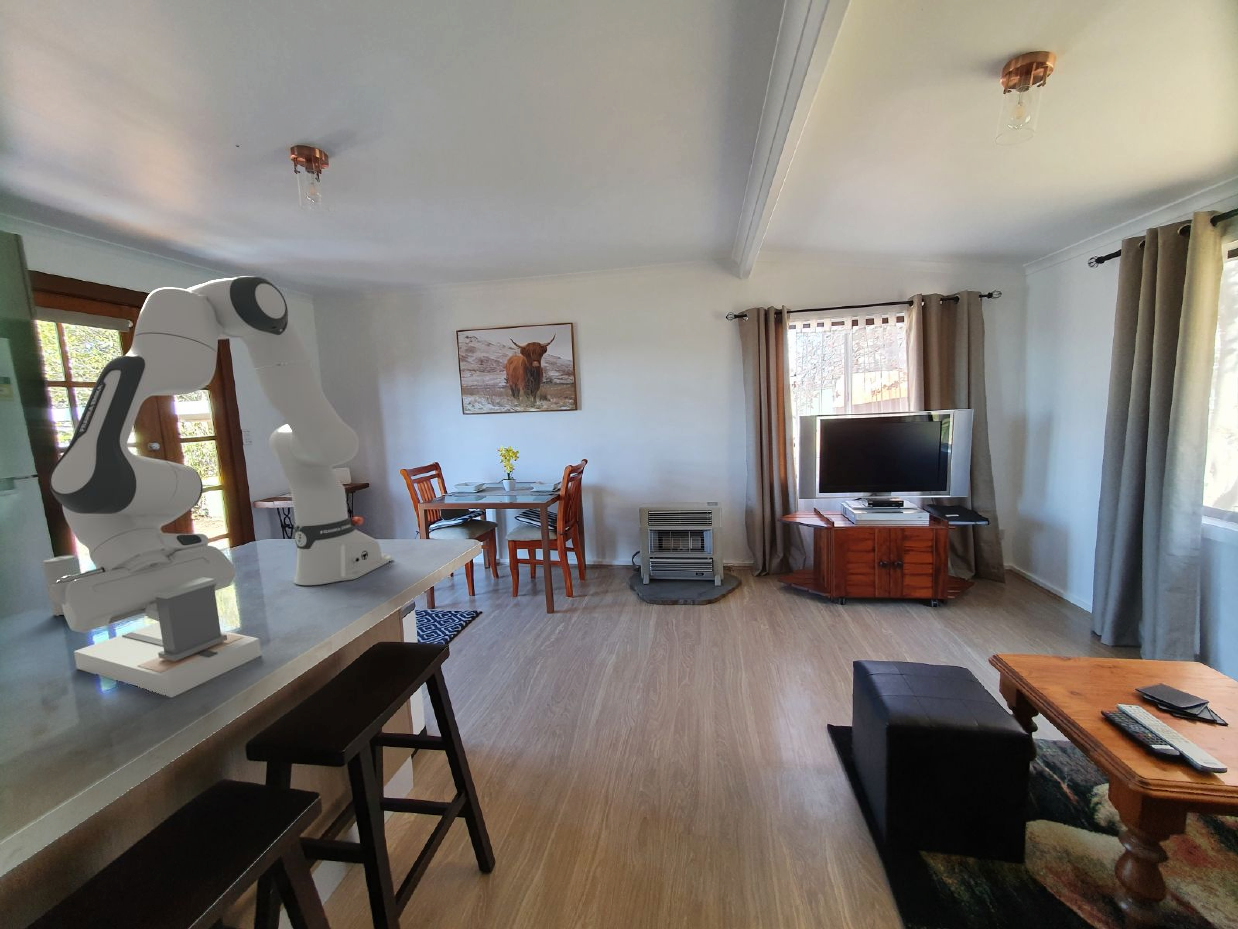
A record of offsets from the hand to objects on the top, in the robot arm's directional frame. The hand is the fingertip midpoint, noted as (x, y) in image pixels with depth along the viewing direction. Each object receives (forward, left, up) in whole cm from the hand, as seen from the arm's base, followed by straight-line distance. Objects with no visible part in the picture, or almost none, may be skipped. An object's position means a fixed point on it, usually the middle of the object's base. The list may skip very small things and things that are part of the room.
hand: (182, 623), depth 73 cm
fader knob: (0, +2, -4) cm, 4 cm away
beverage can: (-6, -54, -8) cm, 55 cm away
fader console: (0, -5, -7) cm, 9 cm away
